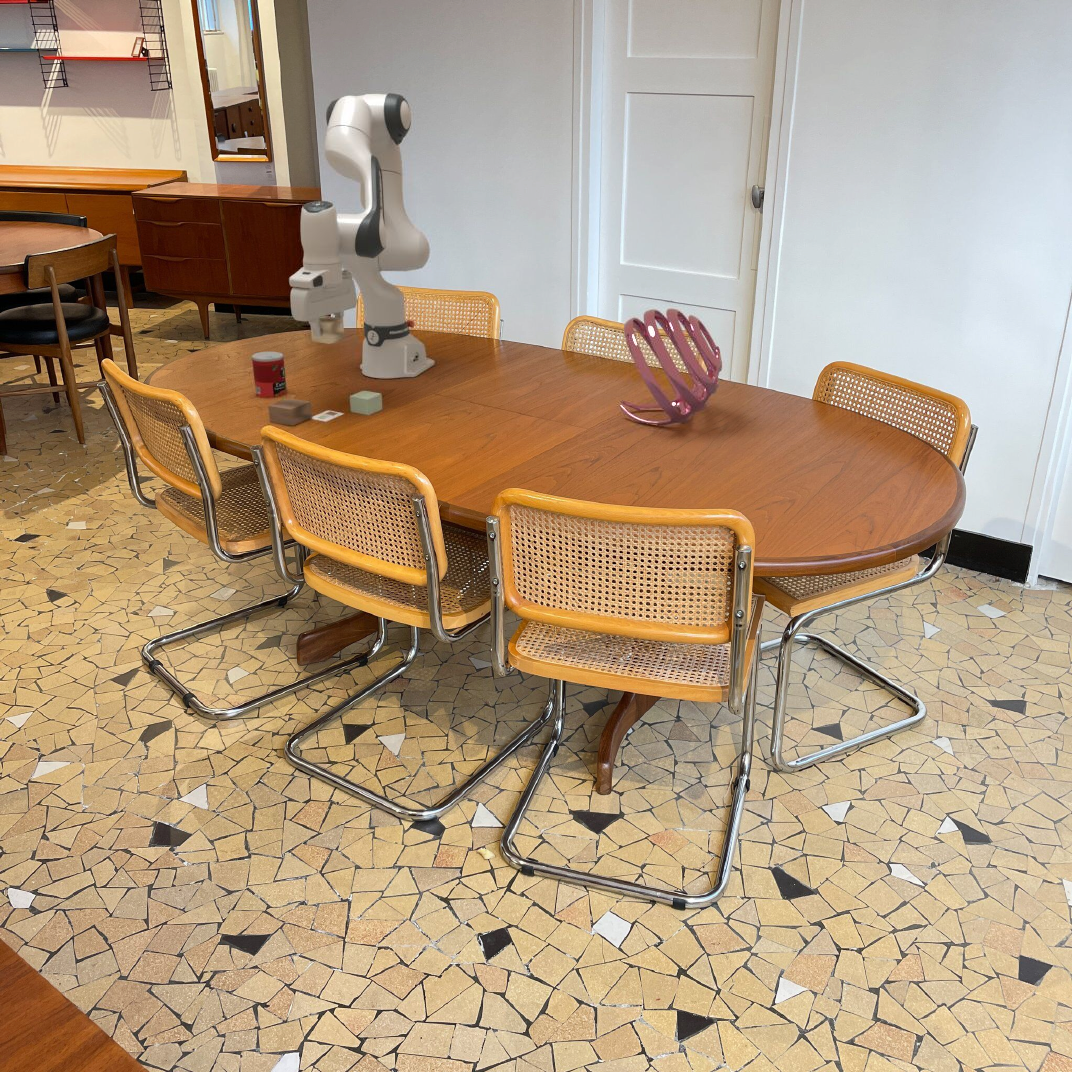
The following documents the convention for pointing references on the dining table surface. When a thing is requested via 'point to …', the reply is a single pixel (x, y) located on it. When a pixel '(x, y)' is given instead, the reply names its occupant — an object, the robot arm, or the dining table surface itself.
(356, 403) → the sage cube
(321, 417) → the board
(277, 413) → the walnut base
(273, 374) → the canned food
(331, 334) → the birch cube
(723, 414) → the dining table surface
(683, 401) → the spiral basket
